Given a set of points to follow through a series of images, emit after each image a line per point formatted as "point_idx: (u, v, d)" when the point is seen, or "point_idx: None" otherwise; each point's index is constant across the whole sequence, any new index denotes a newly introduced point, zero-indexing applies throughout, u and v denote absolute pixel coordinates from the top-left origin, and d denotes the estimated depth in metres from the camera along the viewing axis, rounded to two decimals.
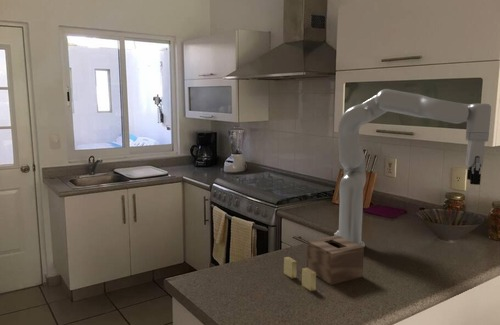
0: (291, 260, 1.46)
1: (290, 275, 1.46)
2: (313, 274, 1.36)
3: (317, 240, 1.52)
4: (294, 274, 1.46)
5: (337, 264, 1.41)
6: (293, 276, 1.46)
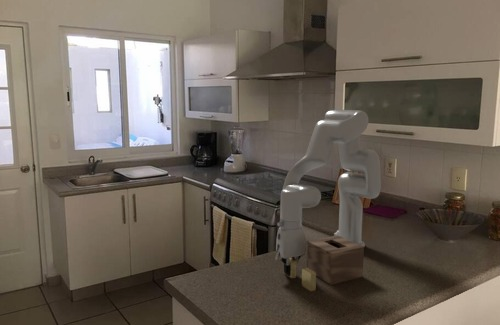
0: (291, 260, 1.46)
1: (290, 275, 1.46)
2: (313, 274, 1.36)
3: (317, 240, 1.52)
4: (294, 274, 1.46)
5: (337, 264, 1.41)
6: (293, 276, 1.46)
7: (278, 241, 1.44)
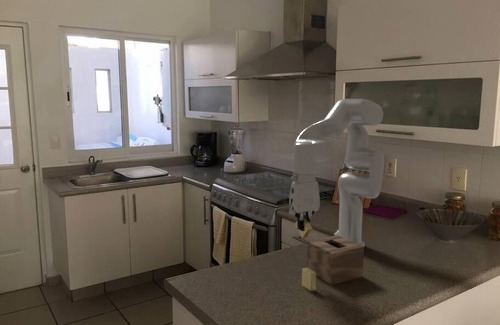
0: None
1: (305, 228, 1.43)
2: (313, 274, 1.36)
3: (317, 240, 1.52)
4: (308, 226, 1.44)
5: (337, 264, 1.41)
6: (308, 227, 1.43)
7: (291, 195, 1.42)
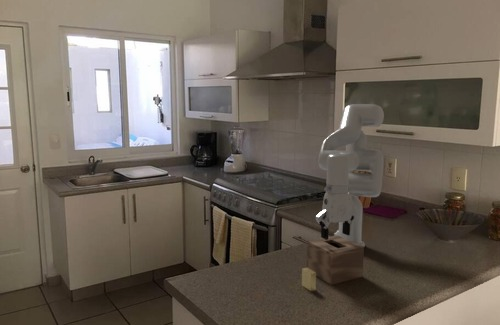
0: None
1: None
2: (313, 274, 1.36)
3: (317, 240, 1.52)
4: None
5: (337, 264, 1.41)
6: None
7: (325, 206, 1.44)
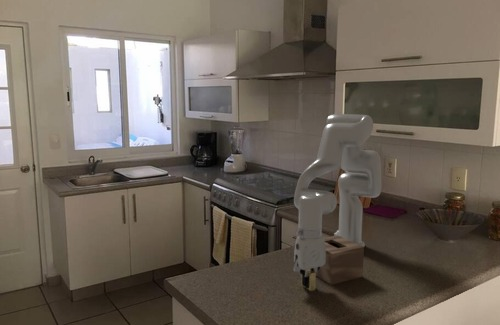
0: None
1: None
2: (313, 274, 1.36)
3: None
4: None
5: (337, 264, 1.41)
6: None
7: (296, 251, 1.34)
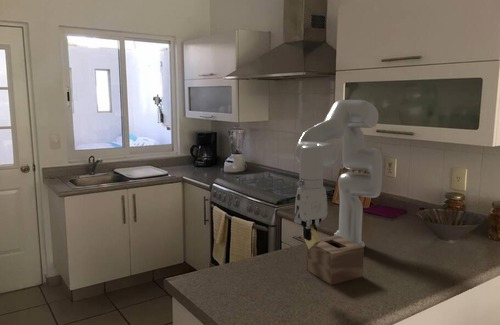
0: None
1: None
2: (311, 226, 1.35)
3: None
4: None
5: (337, 264, 1.41)
6: None
7: (297, 202, 1.32)
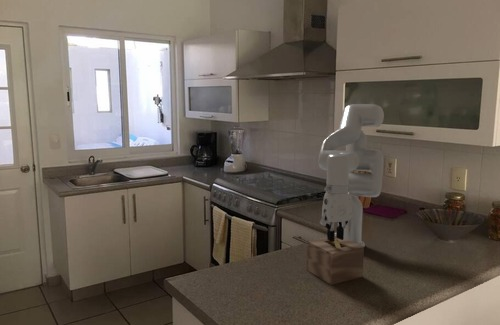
0: None
1: None
2: (336, 240, 1.48)
3: (317, 240, 1.52)
4: None
5: (337, 264, 1.41)
6: None
7: (325, 206, 1.44)
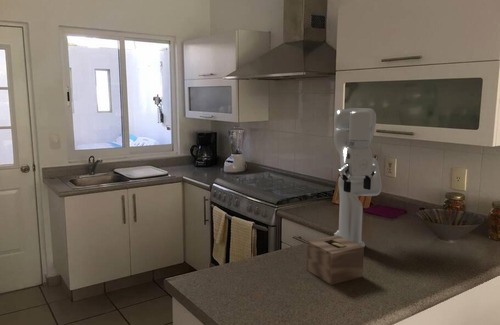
0: None
1: None
2: (342, 247, 1.45)
3: (317, 240, 1.52)
4: None
5: (337, 264, 1.41)
6: None
7: (347, 160, 1.51)
